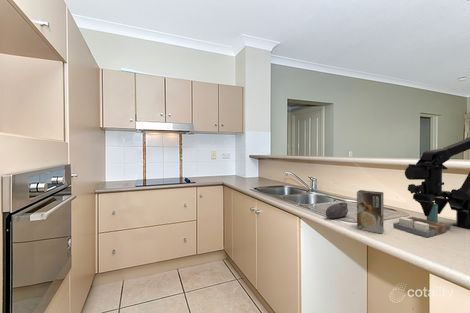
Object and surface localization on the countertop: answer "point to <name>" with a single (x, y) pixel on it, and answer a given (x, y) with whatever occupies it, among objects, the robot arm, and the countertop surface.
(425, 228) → the tile
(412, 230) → the box
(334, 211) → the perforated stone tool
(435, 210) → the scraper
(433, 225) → the walnut board
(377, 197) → the coffee box
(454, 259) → the countertop surface
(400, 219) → the tile
